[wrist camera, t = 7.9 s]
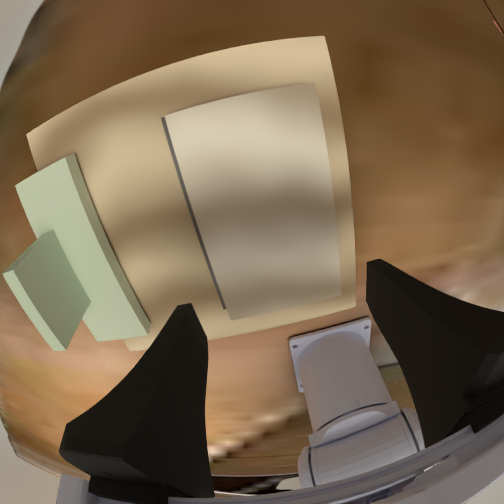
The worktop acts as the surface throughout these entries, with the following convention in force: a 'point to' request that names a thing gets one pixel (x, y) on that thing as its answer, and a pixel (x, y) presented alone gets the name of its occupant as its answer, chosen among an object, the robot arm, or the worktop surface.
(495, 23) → the figurine
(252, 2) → the worktop surface
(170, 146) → the board
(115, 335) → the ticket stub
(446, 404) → the robot arm
